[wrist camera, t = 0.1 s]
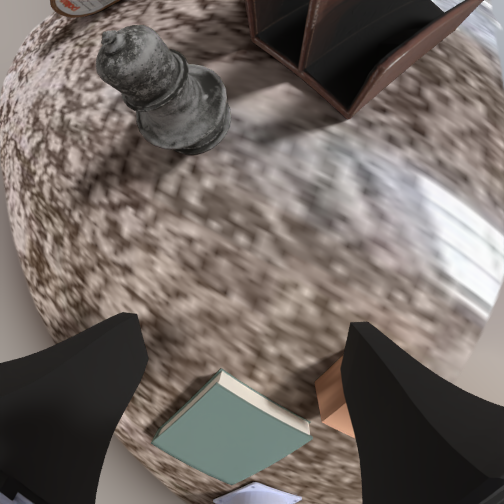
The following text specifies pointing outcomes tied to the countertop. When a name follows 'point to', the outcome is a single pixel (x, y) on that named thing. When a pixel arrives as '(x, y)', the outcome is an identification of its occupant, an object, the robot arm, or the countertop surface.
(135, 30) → the salt shaker
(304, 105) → the countertop surface
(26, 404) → the robot arm
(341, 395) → the block
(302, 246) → the countertop surface
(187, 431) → the book
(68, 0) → the tin
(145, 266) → the countertop surface
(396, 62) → the letter holder
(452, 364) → the countertop surface
